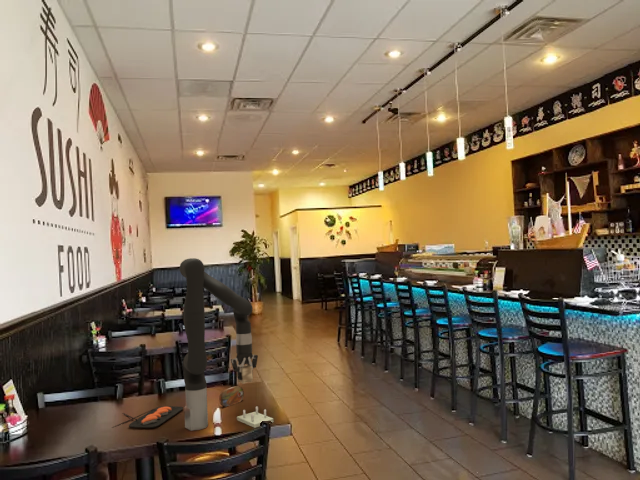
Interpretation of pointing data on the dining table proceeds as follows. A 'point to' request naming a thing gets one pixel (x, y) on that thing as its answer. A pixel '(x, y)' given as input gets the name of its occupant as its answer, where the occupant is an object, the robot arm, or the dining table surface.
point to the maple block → (246, 374)
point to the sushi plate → (153, 417)
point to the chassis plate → (254, 418)
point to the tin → (231, 396)
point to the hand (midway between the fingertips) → (245, 378)
